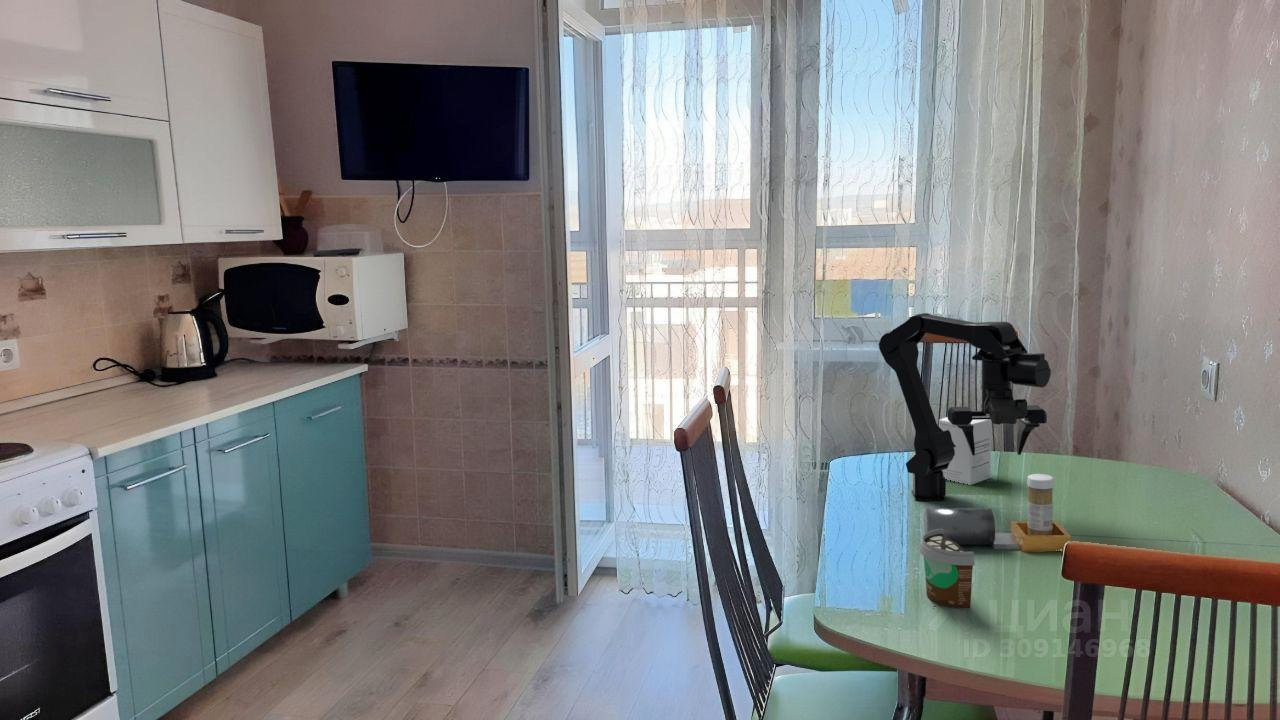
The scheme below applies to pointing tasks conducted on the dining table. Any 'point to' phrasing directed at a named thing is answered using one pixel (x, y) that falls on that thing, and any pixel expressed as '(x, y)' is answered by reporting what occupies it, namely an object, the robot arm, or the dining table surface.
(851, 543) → the dining table surface
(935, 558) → the food container
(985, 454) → the supplement box
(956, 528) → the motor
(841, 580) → the dining table surface
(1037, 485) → the sprinkles bottle
